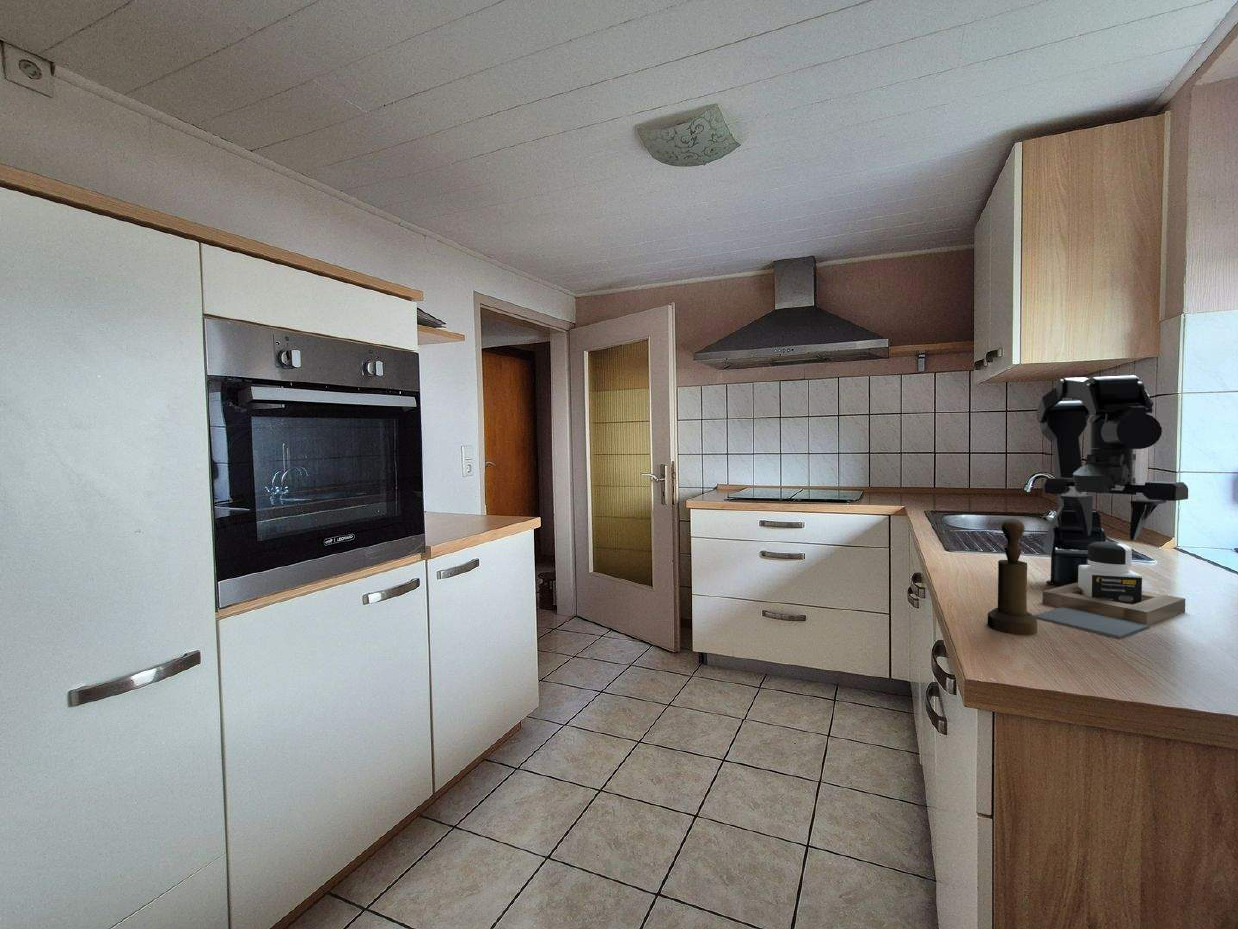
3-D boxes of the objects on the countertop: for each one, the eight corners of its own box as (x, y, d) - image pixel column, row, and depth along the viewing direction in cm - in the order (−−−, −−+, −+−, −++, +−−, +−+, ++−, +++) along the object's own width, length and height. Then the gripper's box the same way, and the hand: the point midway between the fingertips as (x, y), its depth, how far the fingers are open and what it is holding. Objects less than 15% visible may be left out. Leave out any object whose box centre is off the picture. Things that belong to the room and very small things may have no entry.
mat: (1032, 619, 98) (1033, 615, 98) (1063, 609, 103) (1063, 606, 103) (1120, 640, 88) (1120, 636, 88) (1149, 628, 92) (1149, 625, 92)
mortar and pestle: (1029, 625, 95) (1030, 517, 94) (1043, 638, 89) (1045, 523, 88) (982, 622, 97) (983, 516, 96) (993, 634, 91) (995, 521, 90)
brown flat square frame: (1042, 604, 106) (1042, 591, 106) (1083, 593, 113) (1083, 580, 113) (1146, 627, 93) (1146, 612, 93) (1185, 612, 100) (1185, 598, 100)
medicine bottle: (1091, 612, 103) (1092, 545, 102) (1077, 601, 110) (1078, 538, 109) (1142, 616, 100) (1143, 547, 100) (1124, 605, 107) (1125, 540, 106)
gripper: (1027, 449, 105) (1026, 534, 105) (1161, 449, 88) (1159, 550, 89) (1058, 448, 110) (1057, 529, 111) (1190, 448, 94) (1188, 543, 94)
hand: (1109, 537), depth 101 cm, fingers open, 6 cm apart
